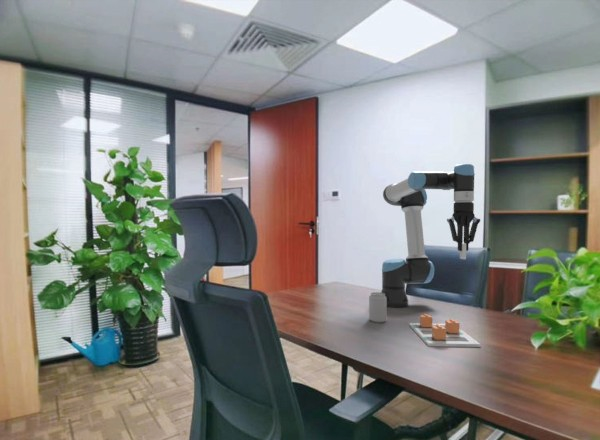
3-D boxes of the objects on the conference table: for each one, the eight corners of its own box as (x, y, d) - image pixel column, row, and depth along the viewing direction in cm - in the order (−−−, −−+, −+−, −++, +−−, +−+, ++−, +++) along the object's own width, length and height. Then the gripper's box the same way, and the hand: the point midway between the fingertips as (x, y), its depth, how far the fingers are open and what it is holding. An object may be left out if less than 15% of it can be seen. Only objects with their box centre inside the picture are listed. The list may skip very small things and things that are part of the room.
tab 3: (445, 330, 131) (445, 318, 131) (455, 330, 130) (455, 318, 130) (448, 333, 127) (448, 321, 127) (459, 333, 127) (459, 321, 127)
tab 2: (431, 336, 124) (431, 324, 124) (442, 336, 124) (442, 324, 124) (434, 339, 121) (434, 326, 121) (446, 339, 121) (446, 327, 121)
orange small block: (419, 324, 138) (419, 313, 138) (429, 324, 138) (429, 313, 138) (422, 327, 135) (422, 315, 135) (432, 327, 135) (432, 315, 135)
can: (367, 321, 146) (367, 294, 146) (371, 317, 153) (371, 290, 153) (384, 324, 143) (384, 296, 143) (388, 319, 149) (388, 292, 149)
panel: (409, 325, 141) (409, 322, 141) (453, 326, 140) (453, 323, 140) (428, 346, 118) (428, 342, 118) (480, 346, 117) (480, 343, 117)
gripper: (450, 201, 136) (450, 259, 136) (484, 201, 135) (483, 260, 135) (444, 202, 143) (443, 257, 144) (475, 202, 142) (474, 257, 143)
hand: (462, 258), depth 139 cm, fingers closed
